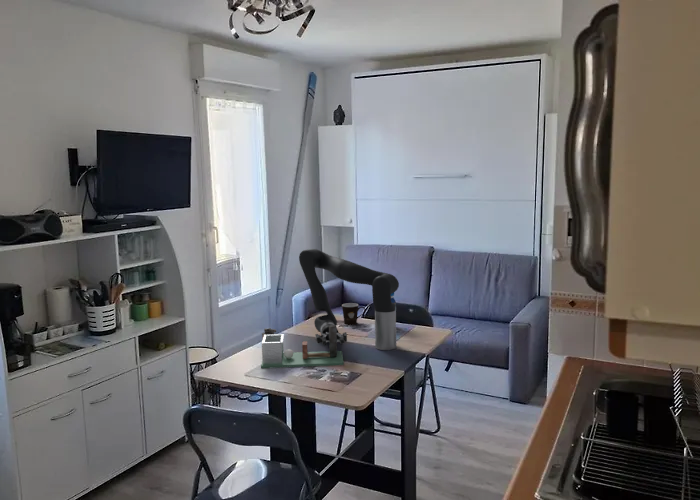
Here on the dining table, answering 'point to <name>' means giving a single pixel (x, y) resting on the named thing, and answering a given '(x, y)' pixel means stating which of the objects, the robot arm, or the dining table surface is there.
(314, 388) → the dining table surface
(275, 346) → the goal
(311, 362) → the board
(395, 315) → the beverage bottle
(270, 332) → the lighter
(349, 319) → the coffee mug
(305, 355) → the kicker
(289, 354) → the ball
